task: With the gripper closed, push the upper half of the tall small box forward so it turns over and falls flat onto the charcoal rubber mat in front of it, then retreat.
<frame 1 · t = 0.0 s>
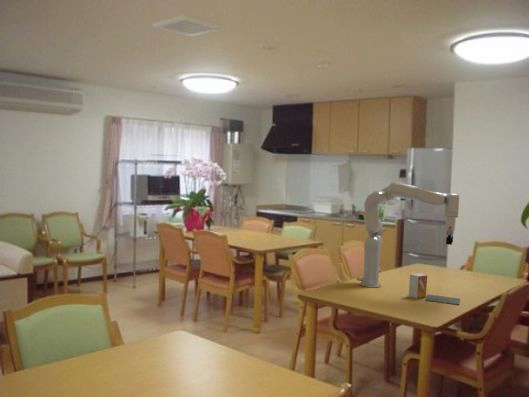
hand: (449, 243, 291), 31 cm above the table, fingers open, 9 cm apart
small box: (417, 297, 287), on the table
mat: (442, 300, 281), on the table
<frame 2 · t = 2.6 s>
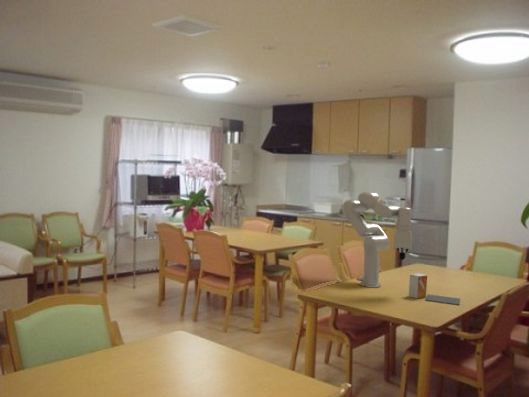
hand: (402, 259, 289), 21 cm above the table, fingers closed
nothing on the table moved.
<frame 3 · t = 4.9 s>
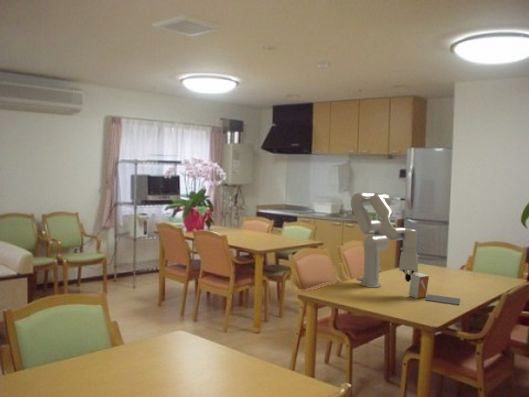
hand: (407, 281, 288), 8 cm above the table, fingers closed
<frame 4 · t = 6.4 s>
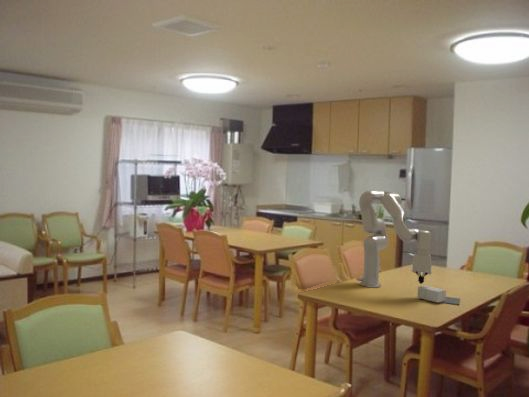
hand: (421, 283, 285), 8 cm above the table, fingers closed
small box: (421, 291, 284), point 4 cm above the table, touching mat
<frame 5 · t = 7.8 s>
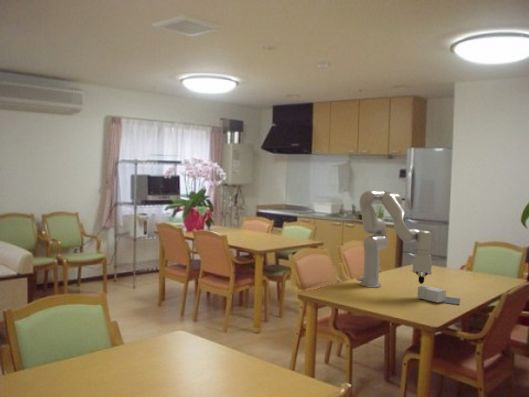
hand: (421, 283, 285), 8 cm above the table, fingers closed
nothing on the table moved.
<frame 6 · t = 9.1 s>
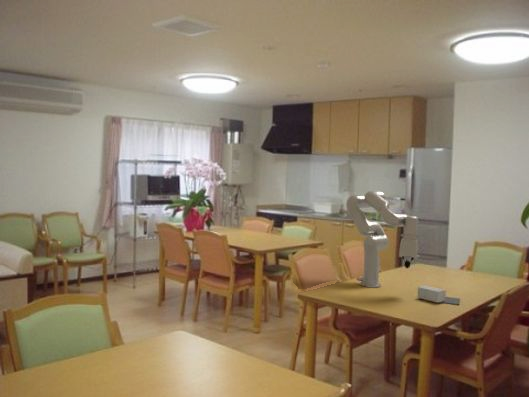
hand: (407, 267, 289), 16 cm above the table, fingers closed
nothing on the table moved.
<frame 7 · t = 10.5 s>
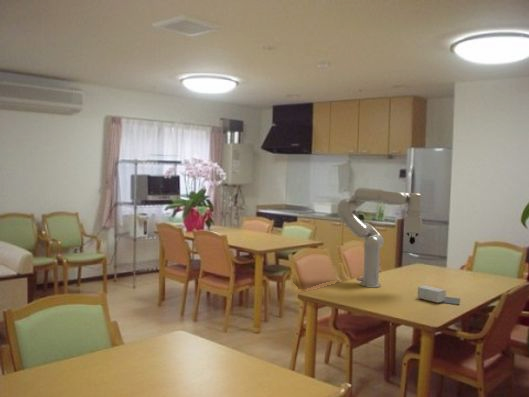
hand: (412, 243, 297), 29 cm above the table, fingers closed
nothing on the table moved.
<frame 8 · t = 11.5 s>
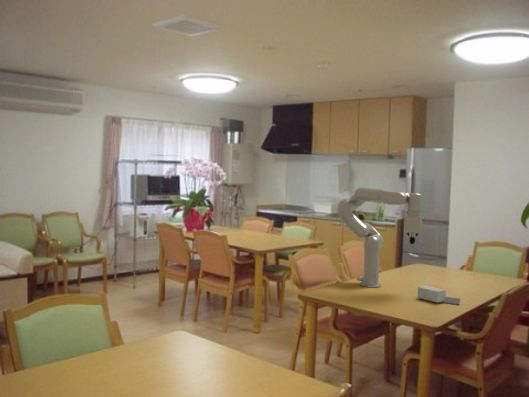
hand: (412, 243, 297), 29 cm above the table, fingers closed
nothing on the table moved.
at the end: small box tilted 89°; small box inside the target area on the mat (11.5 cm from its centre), point 3.6 cm above the mat's base; the gripper is holding nothing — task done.
